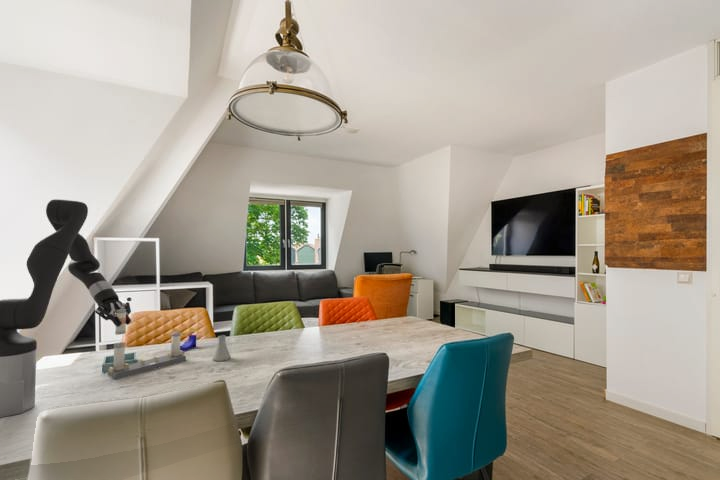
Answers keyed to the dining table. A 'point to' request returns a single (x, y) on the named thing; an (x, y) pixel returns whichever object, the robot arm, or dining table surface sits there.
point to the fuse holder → (146, 365)
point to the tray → (109, 361)
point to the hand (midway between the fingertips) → (124, 324)
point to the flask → (221, 350)
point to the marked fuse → (122, 317)
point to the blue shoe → (189, 343)
